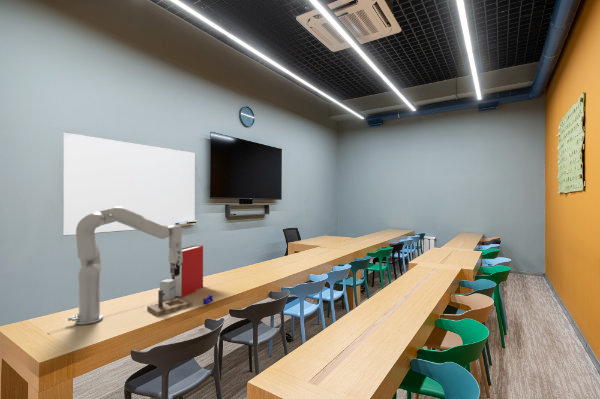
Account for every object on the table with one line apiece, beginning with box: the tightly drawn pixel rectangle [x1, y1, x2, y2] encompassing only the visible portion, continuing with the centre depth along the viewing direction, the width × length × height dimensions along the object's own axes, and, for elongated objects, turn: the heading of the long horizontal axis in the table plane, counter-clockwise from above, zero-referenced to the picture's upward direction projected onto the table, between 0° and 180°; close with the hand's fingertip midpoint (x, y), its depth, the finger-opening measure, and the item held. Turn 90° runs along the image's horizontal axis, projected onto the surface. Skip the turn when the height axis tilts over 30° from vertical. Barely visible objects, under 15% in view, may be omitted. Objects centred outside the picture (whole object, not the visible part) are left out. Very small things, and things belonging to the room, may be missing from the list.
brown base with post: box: [146, 289, 193, 317], centre depth 186 cm, size 22×14×12 cm, turn 138°
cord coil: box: [170, 263, 179, 278], centre depth 188 cm, size 5×5×8 cm
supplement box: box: [159, 278, 176, 302], centre depth 204 cm, size 7×7×13 cm
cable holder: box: [202, 294, 214, 305], centre depth 196 cm, size 8×4×4 cm, turn 167°
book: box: [171, 244, 204, 298], centre depth 221 cm, size 27×8×32 cm, turn 166°
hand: (175, 273), depth 188 cm, fingers closed on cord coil, 4 cm apart
